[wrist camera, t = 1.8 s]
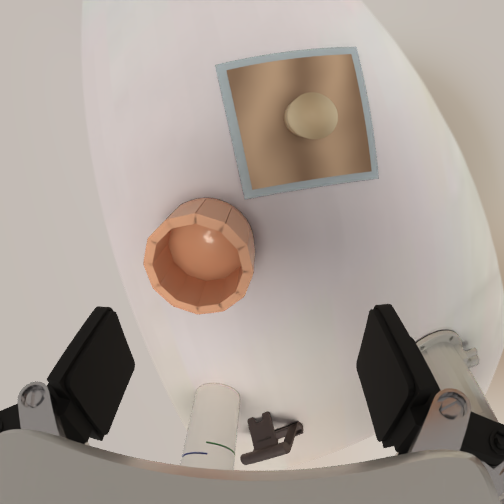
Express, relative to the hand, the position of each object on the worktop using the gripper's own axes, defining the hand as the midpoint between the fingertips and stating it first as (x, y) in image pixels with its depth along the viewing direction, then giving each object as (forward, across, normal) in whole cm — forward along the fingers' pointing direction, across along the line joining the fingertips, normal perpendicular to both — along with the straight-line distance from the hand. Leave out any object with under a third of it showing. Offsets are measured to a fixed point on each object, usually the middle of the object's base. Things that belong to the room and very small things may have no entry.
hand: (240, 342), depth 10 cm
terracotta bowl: (+21, +5, +5) cm, 22 cm away
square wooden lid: (+21, -5, -8) cm, 23 cm away
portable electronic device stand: (+21, -2, +40) cm, 46 cm away
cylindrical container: (+21, +7, +32) cm, 39 cm away
